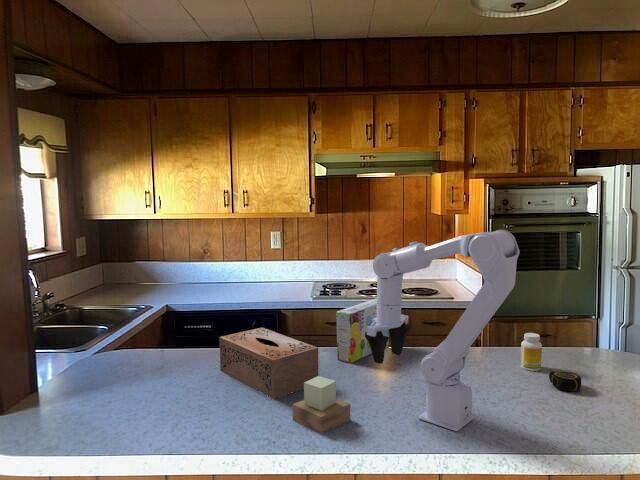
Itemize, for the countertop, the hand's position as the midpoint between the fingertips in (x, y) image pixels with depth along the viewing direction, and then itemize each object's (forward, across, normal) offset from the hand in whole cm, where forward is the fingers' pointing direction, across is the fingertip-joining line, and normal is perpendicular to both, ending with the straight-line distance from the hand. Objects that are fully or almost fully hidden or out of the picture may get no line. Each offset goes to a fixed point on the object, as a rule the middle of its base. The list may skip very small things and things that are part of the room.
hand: (387, 358), depth 121 cm
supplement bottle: (+10, -44, +19) cm, 49 cm away
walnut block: (+11, +18, -5) cm, 22 cm away
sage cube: (+7, +18, -6) cm, 20 cm away
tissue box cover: (+12, +8, -33) cm, 36 cm away
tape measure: (+10, -36, +30) cm, 48 cm away
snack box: (+11, -25, -25) cm, 37 cm away
